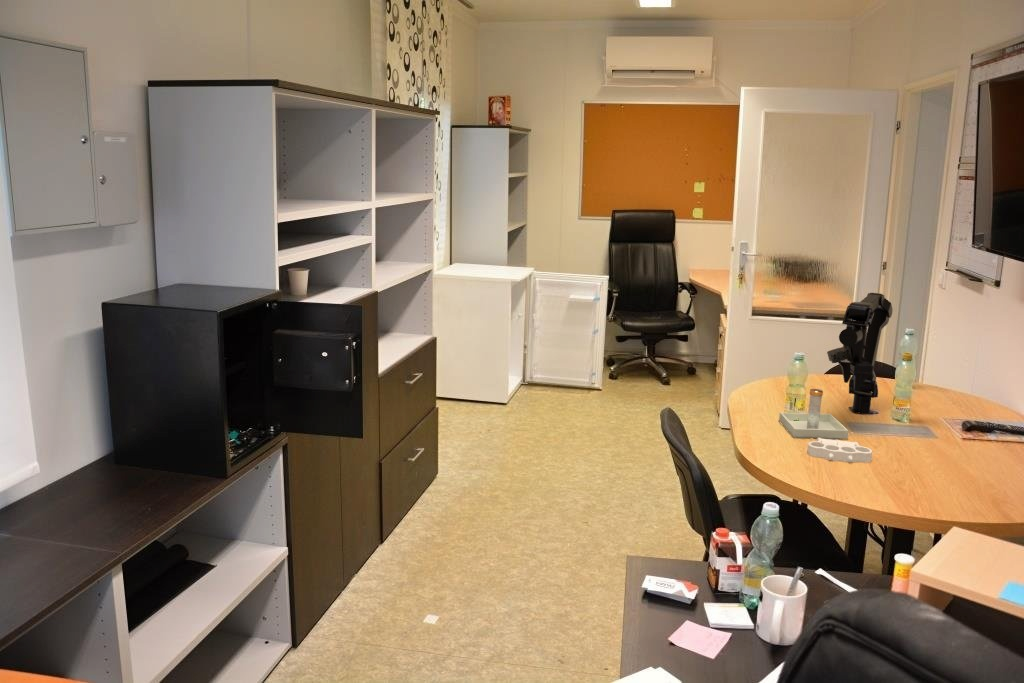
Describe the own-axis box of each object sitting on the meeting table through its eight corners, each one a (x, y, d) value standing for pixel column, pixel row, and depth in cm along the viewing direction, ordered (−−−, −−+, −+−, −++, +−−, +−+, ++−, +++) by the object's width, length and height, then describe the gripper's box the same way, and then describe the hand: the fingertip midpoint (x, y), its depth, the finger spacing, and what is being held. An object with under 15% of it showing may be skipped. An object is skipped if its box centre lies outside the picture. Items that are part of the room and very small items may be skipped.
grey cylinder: (807, 425, 270) (811, 388, 267) (820, 428, 268) (824, 390, 265) (804, 428, 267) (808, 390, 264) (817, 431, 264) (821, 393, 261)
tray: (779, 420, 276) (779, 412, 275) (829, 422, 275) (830, 413, 275) (793, 438, 259) (794, 429, 259) (847, 439, 259) (848, 430, 258)
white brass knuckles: (867, 451, 250) (873, 468, 236) (805, 444, 255) (808, 460, 241) (868, 440, 249) (874, 457, 236) (806, 434, 254) (809, 449, 241)
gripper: (822, 334, 277) (817, 378, 281) (841, 347, 259) (836, 393, 263) (855, 335, 277) (850, 379, 281) (876, 347, 259) (871, 394, 262)
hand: (850, 386), depth 272 cm, fingers open, 9 cm apart
